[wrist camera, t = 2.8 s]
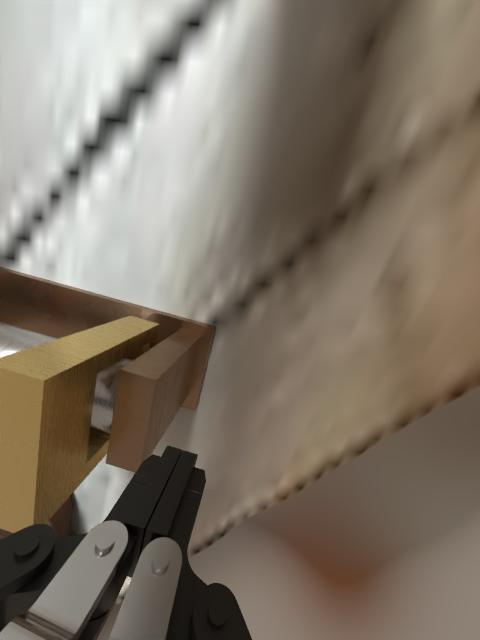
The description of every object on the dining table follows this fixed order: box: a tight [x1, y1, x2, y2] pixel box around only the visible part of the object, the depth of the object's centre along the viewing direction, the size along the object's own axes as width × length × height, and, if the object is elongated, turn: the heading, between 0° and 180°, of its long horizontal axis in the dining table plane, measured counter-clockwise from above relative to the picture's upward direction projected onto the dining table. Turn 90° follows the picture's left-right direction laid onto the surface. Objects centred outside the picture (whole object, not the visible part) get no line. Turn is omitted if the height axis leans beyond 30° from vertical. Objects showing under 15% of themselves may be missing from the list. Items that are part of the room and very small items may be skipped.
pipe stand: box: [0, 267, 216, 473], centre depth 18 cm, size 26×8×9 cm, turn 76°
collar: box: [0, 316, 160, 533], centre depth 14 cm, size 2×8×10 cm, turn 165°
